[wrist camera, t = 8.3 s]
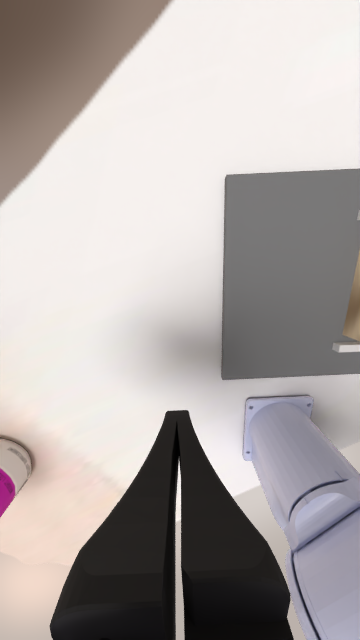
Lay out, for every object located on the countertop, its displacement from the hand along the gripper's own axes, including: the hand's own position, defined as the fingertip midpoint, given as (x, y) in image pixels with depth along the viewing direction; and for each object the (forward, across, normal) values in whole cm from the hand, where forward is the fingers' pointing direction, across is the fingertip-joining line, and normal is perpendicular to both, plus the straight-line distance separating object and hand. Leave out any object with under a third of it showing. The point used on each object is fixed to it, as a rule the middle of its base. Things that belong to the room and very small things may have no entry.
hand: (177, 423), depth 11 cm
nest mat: (+9, -17, -7) cm, 21 cm away
